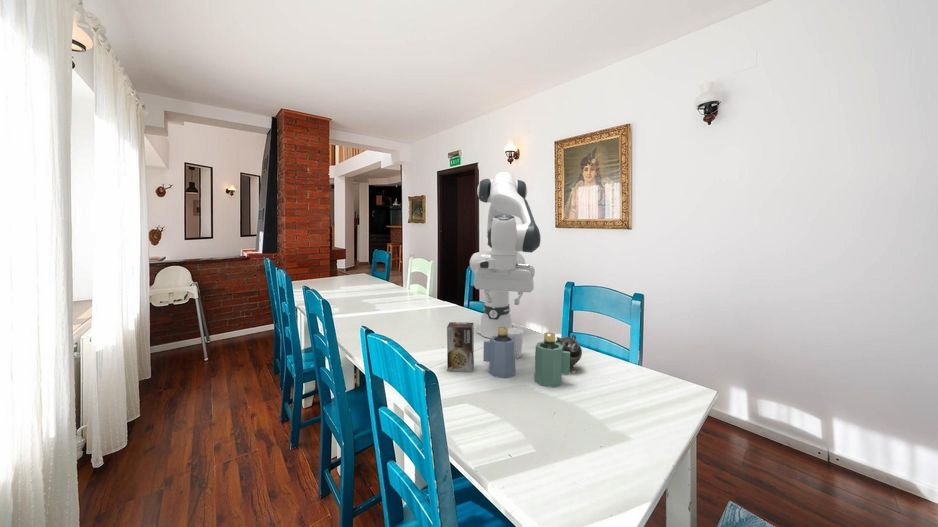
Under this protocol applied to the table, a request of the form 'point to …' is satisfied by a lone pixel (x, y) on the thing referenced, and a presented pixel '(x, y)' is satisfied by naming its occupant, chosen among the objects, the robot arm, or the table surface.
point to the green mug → (551, 364)
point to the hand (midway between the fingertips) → (503, 303)
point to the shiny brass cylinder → (549, 339)
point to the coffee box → (460, 346)
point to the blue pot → (500, 356)
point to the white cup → (517, 339)
